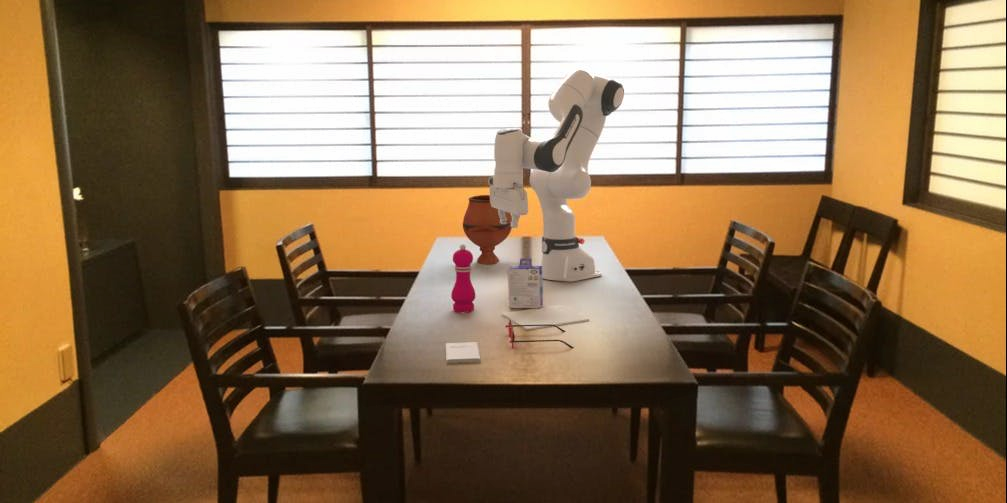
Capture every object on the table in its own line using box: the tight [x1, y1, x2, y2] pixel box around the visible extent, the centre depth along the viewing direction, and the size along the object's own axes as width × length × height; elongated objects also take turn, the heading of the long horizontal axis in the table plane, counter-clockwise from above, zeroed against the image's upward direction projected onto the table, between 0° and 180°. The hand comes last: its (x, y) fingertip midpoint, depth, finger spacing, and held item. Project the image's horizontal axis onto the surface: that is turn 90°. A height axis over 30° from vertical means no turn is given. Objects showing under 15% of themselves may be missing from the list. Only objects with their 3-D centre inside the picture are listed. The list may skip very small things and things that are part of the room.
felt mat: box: [501, 304, 590, 331], centre depth 218 cm, size 20×16×1 cm
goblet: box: [462, 194, 513, 265], centre depth 287 cm, size 19×19×25 cm
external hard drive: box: [445, 341, 481, 364], centre depth 188 cm, size 2×8×12 cm
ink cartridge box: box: [507, 258, 544, 309], centre depth 227 cm, size 10×6×14 cm, turn 79°
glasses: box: [505, 319, 575, 349], centre depth 198 cm, size 14×16×5 cm
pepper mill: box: [450, 243, 476, 313], centre depth 224 cm, size 7×7×20 cm
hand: (508, 225), depth 234 cm, fingers open, 6 cm apart
